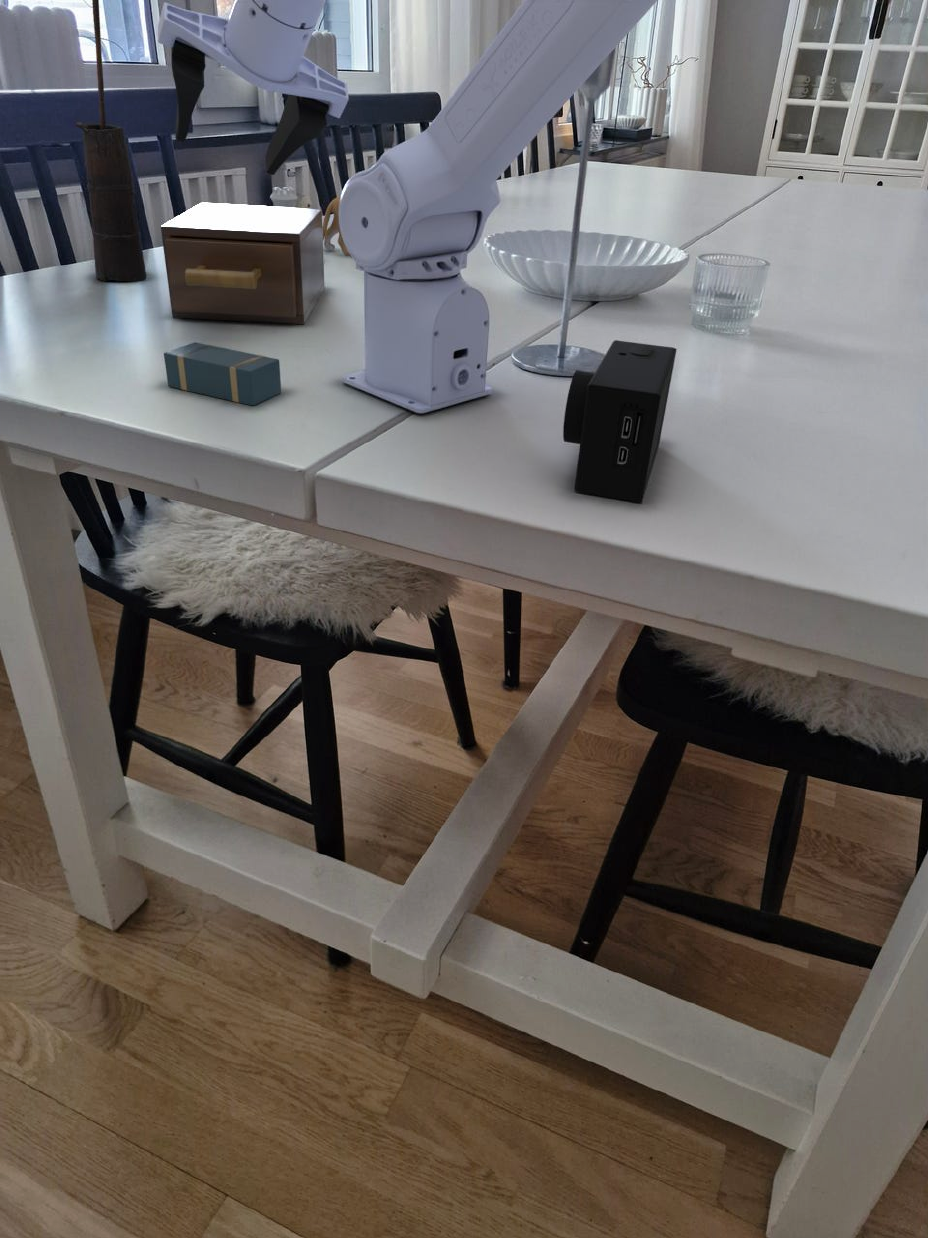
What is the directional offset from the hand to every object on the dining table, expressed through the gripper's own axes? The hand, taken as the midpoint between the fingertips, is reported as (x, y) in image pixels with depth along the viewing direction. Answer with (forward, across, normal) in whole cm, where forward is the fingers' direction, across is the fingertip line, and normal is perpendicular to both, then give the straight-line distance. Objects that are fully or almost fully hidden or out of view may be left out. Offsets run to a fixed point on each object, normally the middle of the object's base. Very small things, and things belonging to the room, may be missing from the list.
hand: (225, 149), depth 73 cm
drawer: (+13, -6, +3) cm, 15 cm away
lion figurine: (+23, -27, -21) cm, 42 cm away
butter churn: (+26, +4, -8) cm, 28 cm away
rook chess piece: (+25, -16, -17) cm, 34 cm away
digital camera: (-15, -20, +37) cm, 45 cm away
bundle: (+3, 0, +23) cm, 23 cm away
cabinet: (+16, -8, 0) cm, 17 cm away
